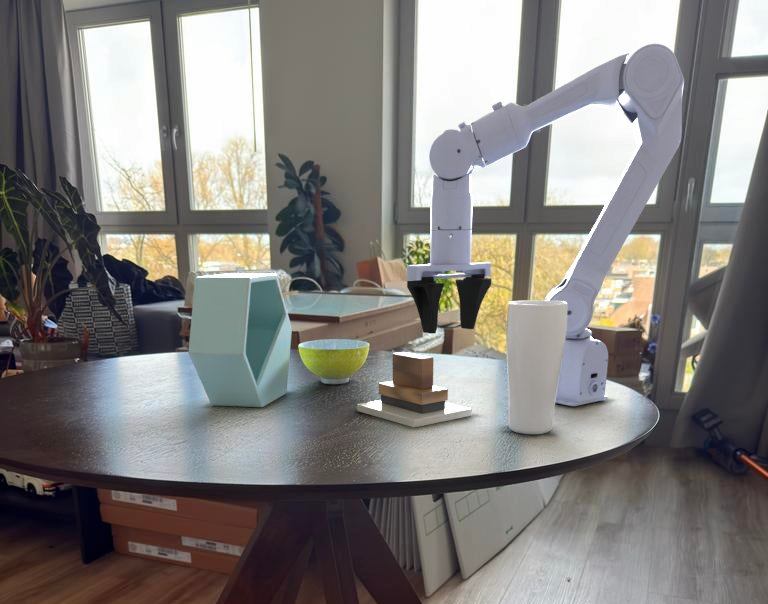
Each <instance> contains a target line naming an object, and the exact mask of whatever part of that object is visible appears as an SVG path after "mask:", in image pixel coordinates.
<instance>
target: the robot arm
mask: <svg viewBox="0 0 768 604" xmlns="http://www.w3.org/2000/svg"><path fill="white" fill-rule="evenodd" d="M629 55H630V53H629V52H628V53H625V54H621V55H619V56H617V57H614V58H612V59H610V60H608V61H606V62H604V63H601V64H600V65H598V66H595V67H594V68H591V69H590V70H588V71H587V72H585V73H583V74H581V75H579V76H577V77H575V78H574V79H572V80H571V81H568V82H567V83H565V84H563V85H561V86H559V87H558V88H556V89H554V90H552V91H550V92H549V93H546V94H545V95H543V96H541V97H539V98H537V99H536V100H534V101H532V102H531V103H529V104H527V105H524V106H523V105H519V104H517V103H515V102H512V101H510V102H508V103H506V104H504V105H503V103H502V101H499V102H496V103H494V104H493V105H492V106H491V109H492V111H490V112H489V113H486V114H484V115H483V116H481V117H478V118H477V119H475V120H473V121H471V122H470V123H467V124H466V122H465V121H462V122H461V123H459V124H458V125H457V127H458V129H454V128H453V129H446V130H444V131H443V133H441V134H440V135H438V136H437V137H436V138H435V139H434V141H433V142H432V144H431V146H430V149H429V153H428V156H429V158H428V159H429V164H430V167H431V170H433V173H434V174H432V179H431V191H432V192H431V195H430V227H429V229H430V236H429V237H430V238H429V239H430V244H429V250H430V251H429V257H430V258H429V263H425V264H409V265H408V264H407V265H406V287H407V290H408V291H409V293H410V295H411V297H412V299H413V302H414V304H415V306H416V309H417V312H418V316H419V319H420V325H421V329H422V333H424V334H431V335H433V334H437V331H438V318H439V307H440V301H441V297H442V293H443V289H444V287H445V284H444V283H443V282H437V281H436V280H441V279H442V280H443V279H456V280H455V285H456V289H457V294H458V299H459V322H460V328H461V329H465V330H475V326H476V322H477V318H478V315H479V311H480V308H481V305H482V303H483V301H484V298H485V297H486V294H487V293H488V291H489V289H490V287H491V286H492V277H491V270H492V267H491V266H492V262H472V233H473V232H472V231H473V230H472V228H473V203H474V202H473V200H474V198H473V197H474V195H473V193H472V174H473V172H474V171H475V168H480V169H484V168H486V167H488V166H490V165H492V164H494V163H497V162H498V161H500V160H502V159H505V158H506V157H508V156H511V155H512V154H514V153H516V152H518V151H520V150H522V149H525V148H526V147H527V146H528V143H529V142H530V139H531V136H532V134H533V132H536V131H537V130H539V129H542V128H544V127H546V126H549V125H552V124H553V123H556V122H557V121H560V120H561V119H564V118H566V117H568V116H571V115H572V114H574V113H577V112H579V111H581V110H583V109H586V108H588V107H590V106H594V107H599V108H604V109H609V110H612V109H613V107H614V106H615V104H616V103H617V106H618V107H619V109H620V110H621V112H622V113H623V115H624V116H625V117H626V118H627V120H628V121H629V122H630V125H631V129H632V132H633V134H634V135H633V136H634V138H635V143H636V148H635V150H634V152H633V154H632V155H631V157H630V159H629V161H628V163H627V164H626V167H625V168H624V170H623V172H622V174H621V176H620V178H619V179H618V181H617V183H616V185H615V186H614V188H613V190H612V192H611V194H610V196H609V197H608V200H607V201H606V203H605V204H604V207H603V208H602V211H601V212H600V214H599V215H598V218H597V219H596V221H595V223H594V225H593V227H592V228H591V231H589V234H588V236H587V238H586V240H585V241H584V243H583V245H582V247H581V249H580V251H579V253H578V254H577V256H576V258H575V260H574V262H573V263H572V265H571V266H570V267H569V269H568V271H567V272H566V274H565V276H564V278H563V279H562V281H561V282H560V283H559V284H558V285H557V286H555V287H554V288H552V289H551V290H550V291H549V292H548V294H547V295H546V297H545V299H544V300H550V301H563V302H566V303H567V304H568V305H567V328H566V338H565V346H564V352H563V358H562V364H561V370H560V376H559V382H558V389H557V395H556V401H555V404H560V405H563V406H569V407H577V406H582V405H586V404H591V403H595V402H596V403H597V402H599V401H600V402H601V401H605V400H608V398H609V397H608V395H606V387H607V378H608V377H607V376H608V365H609V350H608V347H607V345H606V344H605V343H604V342H603V341H602V340H599V339H594V338H593V337H592V335H593V331H592V330H591V329H588V328H587V327H588V326H589V325H590V323H591V322H592V319H593V315H594V305H595V301H596V298H597V297H598V295H599V293H600V291H601V290H602V287H603V284H604V281H605V278H606V276H607V274H608V272H609V271H610V269H611V267H612V265H613V264H614V261H615V260H616V258H617V256H618V254H619V253H620V251H621V250H622V248H623V246H624V244H625V243H626V241H627V239H628V237H629V235H630V233H631V232H632V230H633V228H634V226H635V225H636V223H637V221H638V219H639V218H640V216H641V214H642V212H643V210H644V209H645V207H646V205H647V203H648V202H649V200H650V198H651V197H652V194H653V193H654V191H655V190H656V187H657V186H658V184H659V183H660V181H661V179H662V177H663V176H664V174H665V172H666V170H667V168H668V167H669V164H670V163H671V161H672V160H673V158H674V156H675V154H676V153H677V151H678V149H679V147H680V144H681V142H682V135H683V134H682V133H683V132H682V126H683V124H682V122H683V120H682V119H683V91H684V84H685V78H684V75H683V72H682V69H681V67H680V64H679V60H678V59H677V56H676V54H675V53H674V51H673V50H672V49H670V48H669V47H668V46H667V45H664V44H660V43H650V44H646V45H643V46H642V47H640V48H638V49H637V50H636V51H634V52H633V54H631V56H630V57H629V59H628V56H629ZM627 59H628V60H627ZM626 61H627V62H626ZM625 62H626V63H625ZM445 272H455V273H447V274H446V273H445ZM461 278H462V279H461Z"/></svg>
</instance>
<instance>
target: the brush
mask: <svg viewBox="0 0 768 604" xmlns="http://www.w3.org/2000/svg"><path fill="white" fill-rule="evenodd" d="M378 395H380V400H381V403H384V404H388V405H391V406H395V407H399V408H403V409H406V410H410V411H414V412H418V413H427V412H433V411H438V410H443V409H445V402H446V401H448V400H449V399H448V398H449V388H445V387H441V386H437V385H434V356H428V355H424V354H423V355H422V354H418V353H417V354H416V353H413V352H412V353H411V352H406V351H402V352H393V353H392V380H390V381H383V382H379V383H378Z"/></svg>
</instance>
